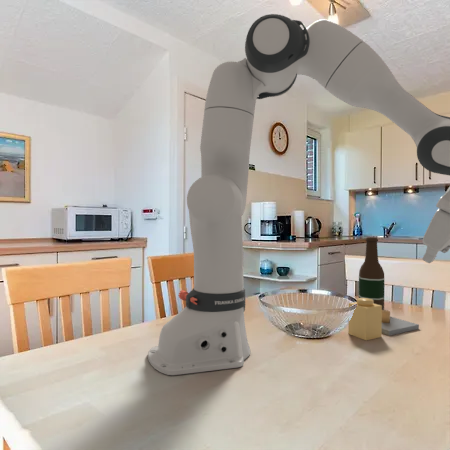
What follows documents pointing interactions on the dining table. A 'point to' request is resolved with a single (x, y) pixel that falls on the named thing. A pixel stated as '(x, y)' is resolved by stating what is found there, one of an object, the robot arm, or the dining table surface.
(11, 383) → the dining table surface
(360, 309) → the tan toy brick
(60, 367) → the dining table surface
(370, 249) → the beer bottle
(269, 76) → the robot arm
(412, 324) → the plate
